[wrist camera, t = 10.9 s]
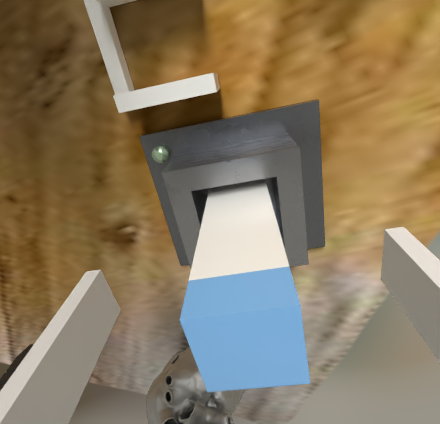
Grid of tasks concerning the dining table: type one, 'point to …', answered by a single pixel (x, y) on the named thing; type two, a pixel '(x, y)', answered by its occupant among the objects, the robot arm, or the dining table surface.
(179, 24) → the dining table surface
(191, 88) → the holster
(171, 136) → the port panel
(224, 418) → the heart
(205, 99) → the dining table surface
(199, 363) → the plug
